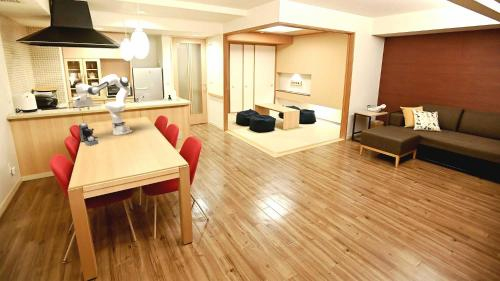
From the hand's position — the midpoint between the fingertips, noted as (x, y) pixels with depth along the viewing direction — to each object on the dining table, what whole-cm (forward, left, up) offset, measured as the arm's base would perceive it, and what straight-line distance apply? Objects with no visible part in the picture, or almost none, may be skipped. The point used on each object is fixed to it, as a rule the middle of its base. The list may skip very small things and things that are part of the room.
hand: (84, 110), depth 302 cm
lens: (+12, +25, -32) cm, 42 cm away
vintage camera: (+6, +11, -33) cm, 36 cm away
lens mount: (+12, +25, -33) cm, 43 cm away
